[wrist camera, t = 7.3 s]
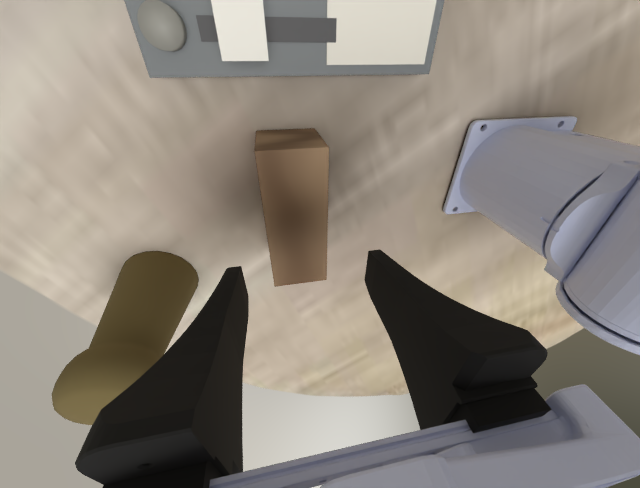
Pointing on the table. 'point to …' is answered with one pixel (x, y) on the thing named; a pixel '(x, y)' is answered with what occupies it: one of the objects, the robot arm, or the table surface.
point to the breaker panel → (285, 37)
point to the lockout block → (294, 202)
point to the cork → (127, 334)
